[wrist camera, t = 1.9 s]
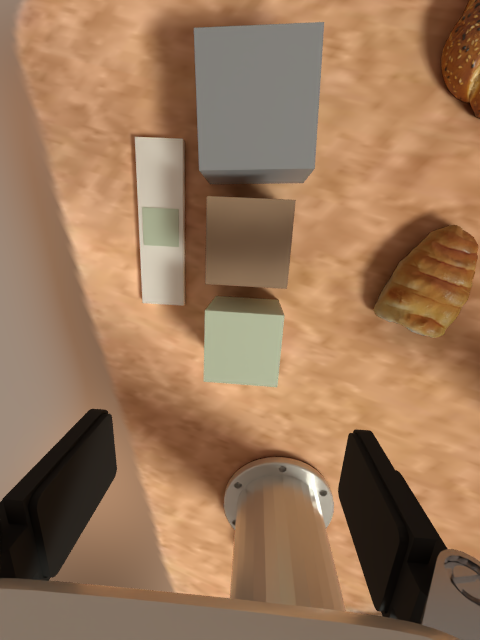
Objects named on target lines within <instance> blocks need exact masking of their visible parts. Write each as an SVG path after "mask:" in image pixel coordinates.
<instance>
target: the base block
mask: <svg viewBox="0 0 480 640" xmlns="http://www.w3.org/2000/svg"><path fill="white" fill-rule="evenodd" d="M323 32H324V22H316V23H294V24H271V25H248V26H225V27H203V28H194V47H195V74H196V101H197V128H198V154H199V171H200V172H201V173H202V175H203V176H204V177H205V178H206V180H207V181H208V182H209V184H269V183H304V181H305V180H306V179H307V178H308V176H309V175H310V174H311V173H312V171H313V170H314V169H315V155H316V139H317V124H318V109H319V93H320V78H321V63H322V47H323Z"/></svg>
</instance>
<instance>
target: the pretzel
mask: <svg viewBox="0 0 480 640" xmlns="http://www.w3.org/2000/svg"><path fill="white" fill-rule="evenodd" d="M441 62H442V74H443V78H444V81H445V83H446V85H447V87H448V90H449V91H450V92H451V93H452V94H453V95H454V96H455V97H456V98H458V99H459V100H461V101H463V102H470V104H471V107H472V109H473V111H474V114H475V117H479V118H480V0H470V1H469V2H468V5H467V6H466V9H465V11H464V14H463V16H462V17H461V18H460V20H459V21H458V23H457V24H456V26H455V27H454V29H453V31H452V32H451V33H450V36H449V38H448V40H447V41H446V45H445V46H444V49H443V52H442V59H441Z"/></svg>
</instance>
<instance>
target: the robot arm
mask: <svg viewBox="0 0 480 640" xmlns="http://www.w3.org/2000/svg"><path fill="white" fill-rule="evenodd" d="M116 470H117V465H116V455H115V444H114V434H113V423H112V416H111V415H110V414H108V411H107V410H101V409H91V410H89V411H88V412H87V413H86V414H85V415H84V416H83V417H82V418H81V419H80V420H79V421H78V422H77V423H76V424H75V425H74V426H73V427H72V428H71V429H70V430H69V431H68V432H67V433H66V435H65V436H64V437H63V438H62V439H61V440H60V441H59V442H58V443H57V444H56V445H55V446H54V447H53V448H52V449H51V450H50V451H49V452H48V453H47V454H46V455H45V456H44V457H43V458H42V459H41V460H40V461H39V462H38V463H37V464H36V465H35V466H34V467H33V468H32V469H31V470H30V471H29V472H28V473H27V475H26V476H25V477H24V478H23V479H22V480H21V481H20V482H19V483H18V484H17V485H16V486H15V487H14V488H13V489H12V490H11V491H10V492H9V493H8V494H7V495H6V496H5V497H4V498H3V500H2V501H1V502H0V640H480V562H479V561H478V560H477V559H475V558H474V557H472V556H470V555H468V554H466V553H464V552H461V551H458V550H454V549H447V547H446V546H445V544H444V543H443V541H442V539H441V538H440V536H439V534H438V533H437V531H436V530H435V528H434V526H433V525H432V523H431V522H430V520H429V518H428V517H427V515H426V513H425V512H424V510H423V509H422V507H421V505H420V504H419V502H418V501H417V499H416V497H415V496H414V494H413V492H412V491H411V489H410V488H409V486H408V484H407V483H406V481H405V480H404V478H403V476H402V475H401V474H400V472H398V471H397V470H395V469H394V468H393V466H392V464H391V463H390V461H389V459H388V458H387V456H386V454H385V453H384V451H383V449H382V448H381V446H380V444H379V443H378V441H377V439H376V438H375V436H374V434H373V433H372V432H371V431H368V430H354V431H353V433H349V436H348V440H347V446H346V451H345V456H344V461H343V466H342V472H341V477H340V482H339V488H338V493H339V499H340V502H341V505H342V508H343V511H344V514H345V517H346V521H347V524H348V527H349V530H350V533H351V536H352V539H353V542H354V545H355V549H356V552H357V555H358V558H359V561H360V564H361V567H362V570H363V573H364V576H365V580H366V583H367V586H368V589H369V592H370V595H371V598H372V601H373V604H374V607H375V609H376V610H377V611H381V613H382V616H375V615H368V614H360V613H353V612H346V609H345V605H344V601H343V597H342V593H341V589H340V584H339V580H338V576H337V572H336V568H335V564H334V560H333V556H332V552H331V547H330V543H329V539H328V535H327V531H326V528H327V526H328V525H329V523H330V521H331V519H332V516H333V513H334V502H333V496H332V493H331V490H330V487H329V485H328V483H327V482H326V480H325V478H324V477H323V476H322V475H321V474H320V473H319V472H318V471H317V470H315V469H314V468H313V467H311V466H310V465H308V464H306V463H303V462H301V461H298V460H295V459H291V458H284V457H268V458H263V459H258V460H256V461H253V462H250V463H248V464H246V465H245V466H243V467H241V468H240V469H239V470H238V471H237V472H236V473H235V474H234V475H233V476H232V477H231V479H230V480H229V482H228V484H227V487H226V490H225V496H224V511H225V515H226V517H227V519H228V522H229V523H230V525H231V526H232V527H233V529H234V530H235V536H234V550H233V563H232V576H231V590H230V598H221V597H211V596H202V595H192V594H183V593H173V592H162V591H153V590H143V589H133V588H122V587H111V586H102V585H92V584H81V583H72V582H59V581H49V579H50V578H51V577H54V576H56V575H57V573H58V572H59V570H60V569H61V567H62V565H63V564H64V562H65V560H66V559H67V557H68V555H69V554H70V552H71V550H72V549H73V547H74V545H75V544H76V542H77V540H78V538H79V537H80V535H81V533H82V532H83V530H84V528H85V527H86V525H87V523H88V521H89V520H90V518H91V517H92V515H93V513H94V512H95V510H96V508H97V506H98V505H99V503H100V501H101V500H102V498H103V496H104V495H105V493H106V491H107V490H108V488H109V486H110V484H111V483H112V481H113V479H114V478H115V475H116Z"/></svg>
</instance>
